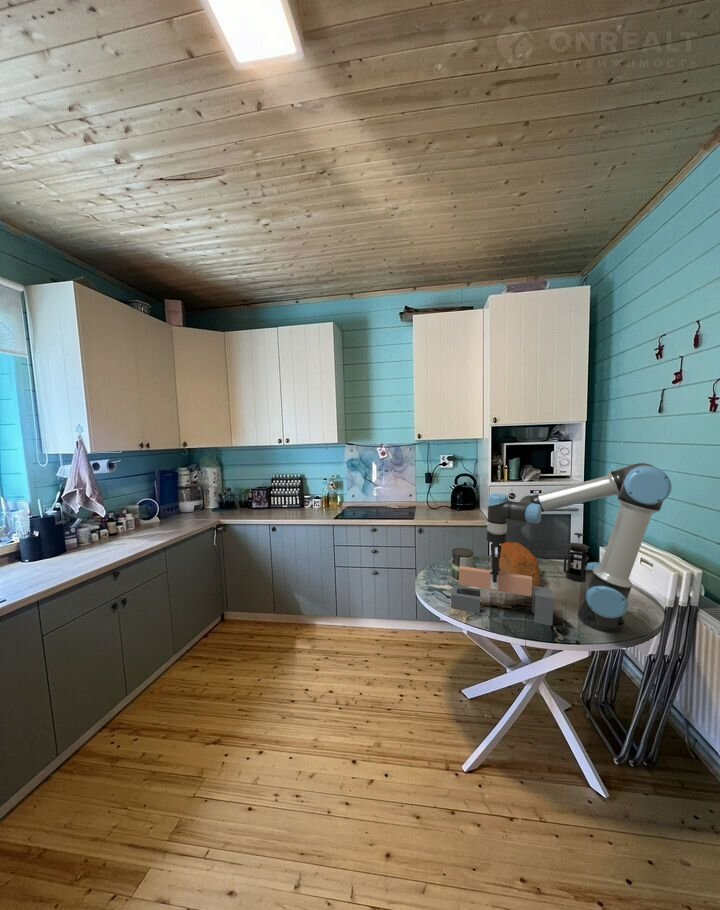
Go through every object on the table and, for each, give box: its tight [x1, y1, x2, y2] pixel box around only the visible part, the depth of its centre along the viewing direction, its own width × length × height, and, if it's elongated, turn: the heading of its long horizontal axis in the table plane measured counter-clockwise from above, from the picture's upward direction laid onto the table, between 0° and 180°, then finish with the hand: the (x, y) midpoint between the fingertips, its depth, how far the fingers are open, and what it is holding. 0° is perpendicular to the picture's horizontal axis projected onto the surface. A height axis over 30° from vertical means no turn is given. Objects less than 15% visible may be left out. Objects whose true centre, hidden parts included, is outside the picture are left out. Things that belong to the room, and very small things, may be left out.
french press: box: [562, 532, 590, 583], centre depth 177 cm, size 12×9×23 cm
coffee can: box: [451, 547, 474, 583], centre depth 176 cm, size 10×10×14 cm
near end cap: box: [531, 586, 555, 627], centre depth 140 cm, size 6×9×11 cm, turn 160°
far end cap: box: [450, 585, 481, 614], centre depth 150 cm, size 12×9×6 cm
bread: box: [499, 541, 541, 589], centre depth 179 cm, size 14×27×15 cm, turn 174°
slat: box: [458, 566, 533, 597], centre depth 146 cm, size 28×3×7 cm, turn 70°
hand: (494, 586), depth 146 cm, fingers closed on slat, 3 cm apart
